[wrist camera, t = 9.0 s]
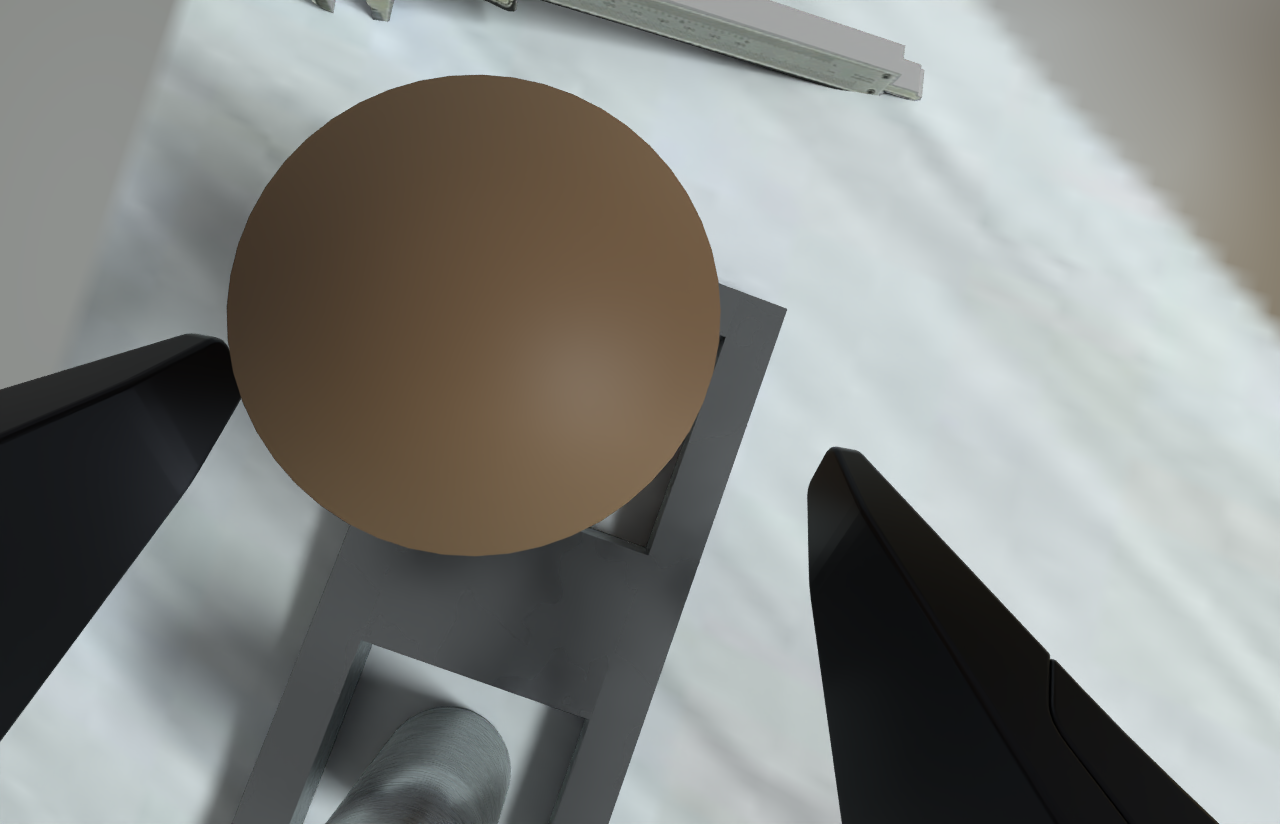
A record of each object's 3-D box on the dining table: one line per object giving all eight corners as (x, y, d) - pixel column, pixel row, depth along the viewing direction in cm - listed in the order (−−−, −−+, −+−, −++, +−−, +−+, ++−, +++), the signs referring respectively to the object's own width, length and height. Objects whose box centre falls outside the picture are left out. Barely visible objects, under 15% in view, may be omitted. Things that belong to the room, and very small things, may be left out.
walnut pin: (642, 471, 17) (723, 553, 4) (517, 472, 17) (216, 559, 4) (642, 348, 18) (717, 81, 5) (518, 347, 17) (237, 67, 4)
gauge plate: (541, 990, 16) (535, 1033, 15) (225, 884, 16) (193, 920, 15) (775, 317, 18) (787, 309, 17) (490, 211, 18) (480, 195, 16)
